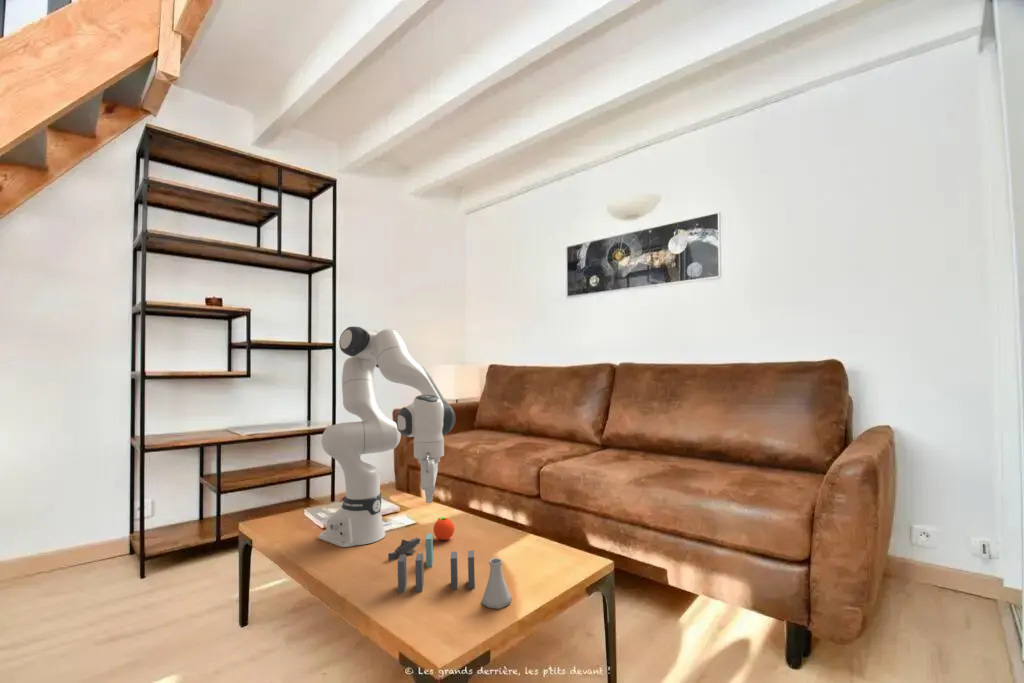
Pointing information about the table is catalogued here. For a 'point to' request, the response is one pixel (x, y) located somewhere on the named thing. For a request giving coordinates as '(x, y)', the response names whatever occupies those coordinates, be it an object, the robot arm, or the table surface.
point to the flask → (496, 587)
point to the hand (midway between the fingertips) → (430, 498)
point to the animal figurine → (404, 548)
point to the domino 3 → (429, 550)
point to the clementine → (443, 528)
